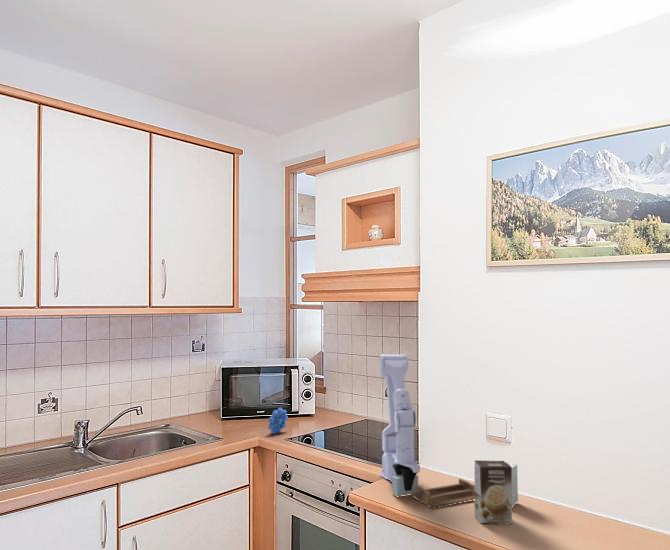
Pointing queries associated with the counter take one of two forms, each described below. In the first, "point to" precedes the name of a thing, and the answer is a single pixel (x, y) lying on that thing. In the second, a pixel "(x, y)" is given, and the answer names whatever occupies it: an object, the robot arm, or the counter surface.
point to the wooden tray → (446, 494)
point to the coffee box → (493, 492)
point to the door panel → (402, 485)
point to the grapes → (277, 420)
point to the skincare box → (514, 483)
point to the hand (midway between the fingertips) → (405, 488)
